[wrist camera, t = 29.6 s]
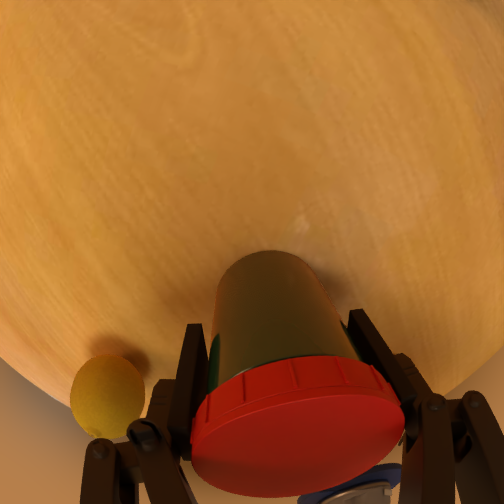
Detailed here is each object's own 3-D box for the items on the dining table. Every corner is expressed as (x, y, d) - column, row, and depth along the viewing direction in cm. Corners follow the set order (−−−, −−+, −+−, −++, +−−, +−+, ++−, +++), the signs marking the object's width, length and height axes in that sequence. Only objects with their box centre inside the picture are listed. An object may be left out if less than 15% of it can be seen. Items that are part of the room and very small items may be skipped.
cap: (245, 324, 8) (248, 367, 6) (423, 375, 10) (442, 404, 8) (172, 450, 10) (167, 482, 9) (319, 472, 12) (325, 498, 10)
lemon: (167, 370, 22) (149, 450, 14) (126, 391, 22) (103, 461, 15) (118, 323, 20) (78, 400, 12) (81, 350, 21) (43, 417, 13)
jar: (287, 353, 21) (319, 486, 11) (199, 321, 20) (177, 467, 9) (339, 276, 19) (423, 399, 9) (244, 231, 18) (258, 359, 7)
